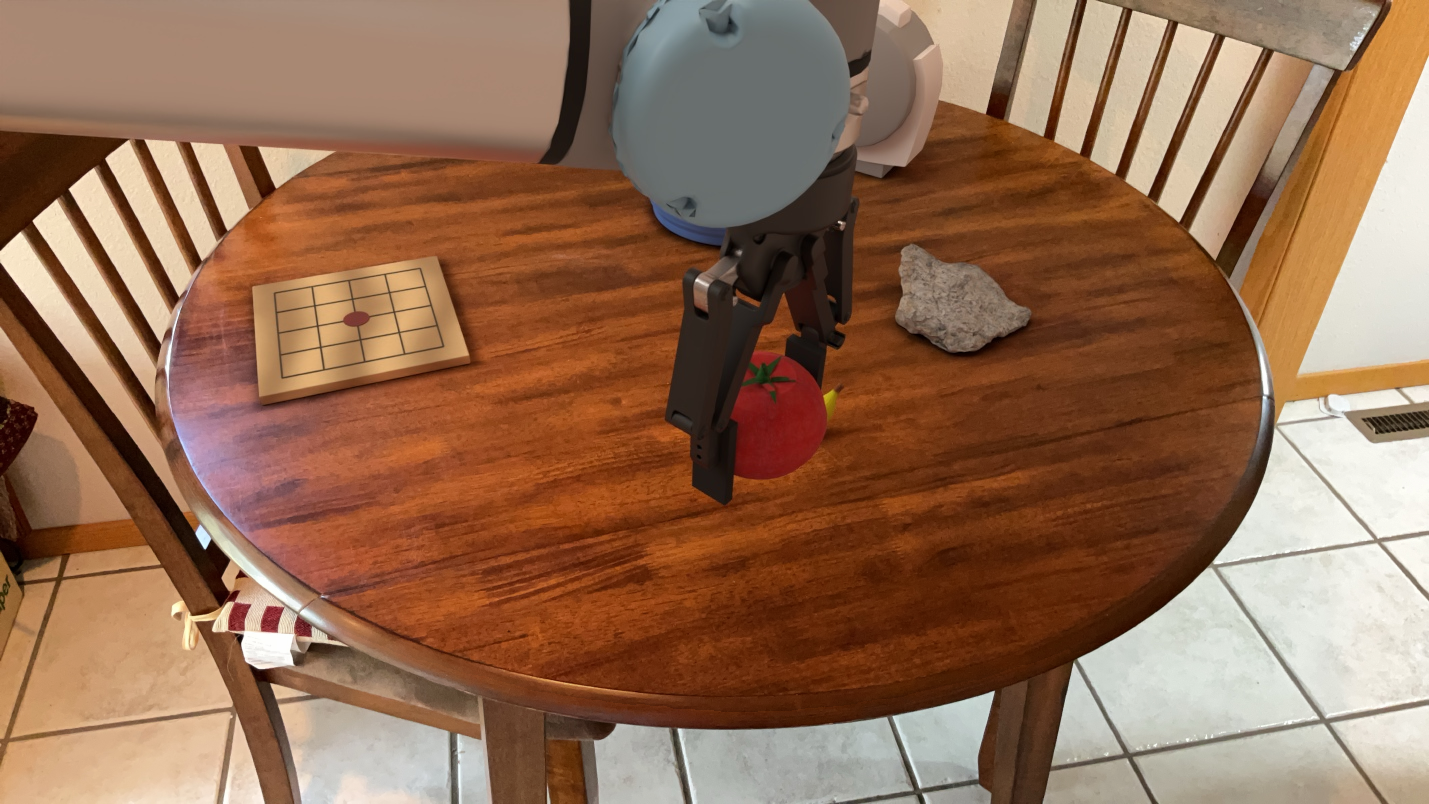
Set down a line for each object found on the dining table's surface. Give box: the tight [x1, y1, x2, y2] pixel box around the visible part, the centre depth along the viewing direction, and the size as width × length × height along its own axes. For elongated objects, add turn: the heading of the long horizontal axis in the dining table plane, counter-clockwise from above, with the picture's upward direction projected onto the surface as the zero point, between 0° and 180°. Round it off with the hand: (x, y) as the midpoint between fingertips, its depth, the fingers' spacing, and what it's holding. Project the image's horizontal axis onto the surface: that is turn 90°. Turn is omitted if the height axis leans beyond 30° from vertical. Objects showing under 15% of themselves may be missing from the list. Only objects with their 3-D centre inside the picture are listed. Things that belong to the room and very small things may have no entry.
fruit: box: [823, 382, 845, 423], centre depth 82 cm, size 10×2×5 cm, turn 110°
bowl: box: [649, 198, 726, 247], centre depth 112 cm, size 18×18×4 cm
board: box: [251, 255, 471, 406], centre depth 93 cm, size 18×18×1 cm
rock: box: [894, 243, 1032, 354], centre depth 98 cm, size 14×4×15 cm
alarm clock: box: [854, 0, 944, 179], centre depth 117 cm, size 18×8×20 cm, turn 59°
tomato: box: [730, 350, 828, 481], centre depth 63 cm, size 9×9×8 cm
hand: (756, 453), depth 65 cm, fingers closed on tomato, 9 cm apart
